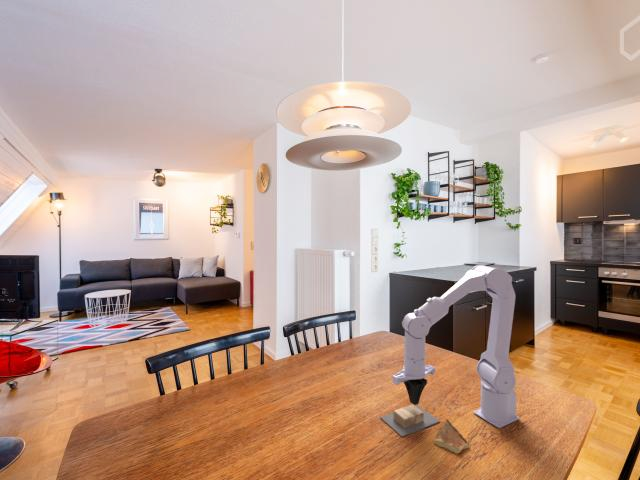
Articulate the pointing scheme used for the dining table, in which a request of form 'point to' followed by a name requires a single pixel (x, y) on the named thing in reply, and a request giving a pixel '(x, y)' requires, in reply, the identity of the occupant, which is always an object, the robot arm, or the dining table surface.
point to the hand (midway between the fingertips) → (414, 402)
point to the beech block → (408, 416)
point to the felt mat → (403, 431)
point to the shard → (450, 438)
